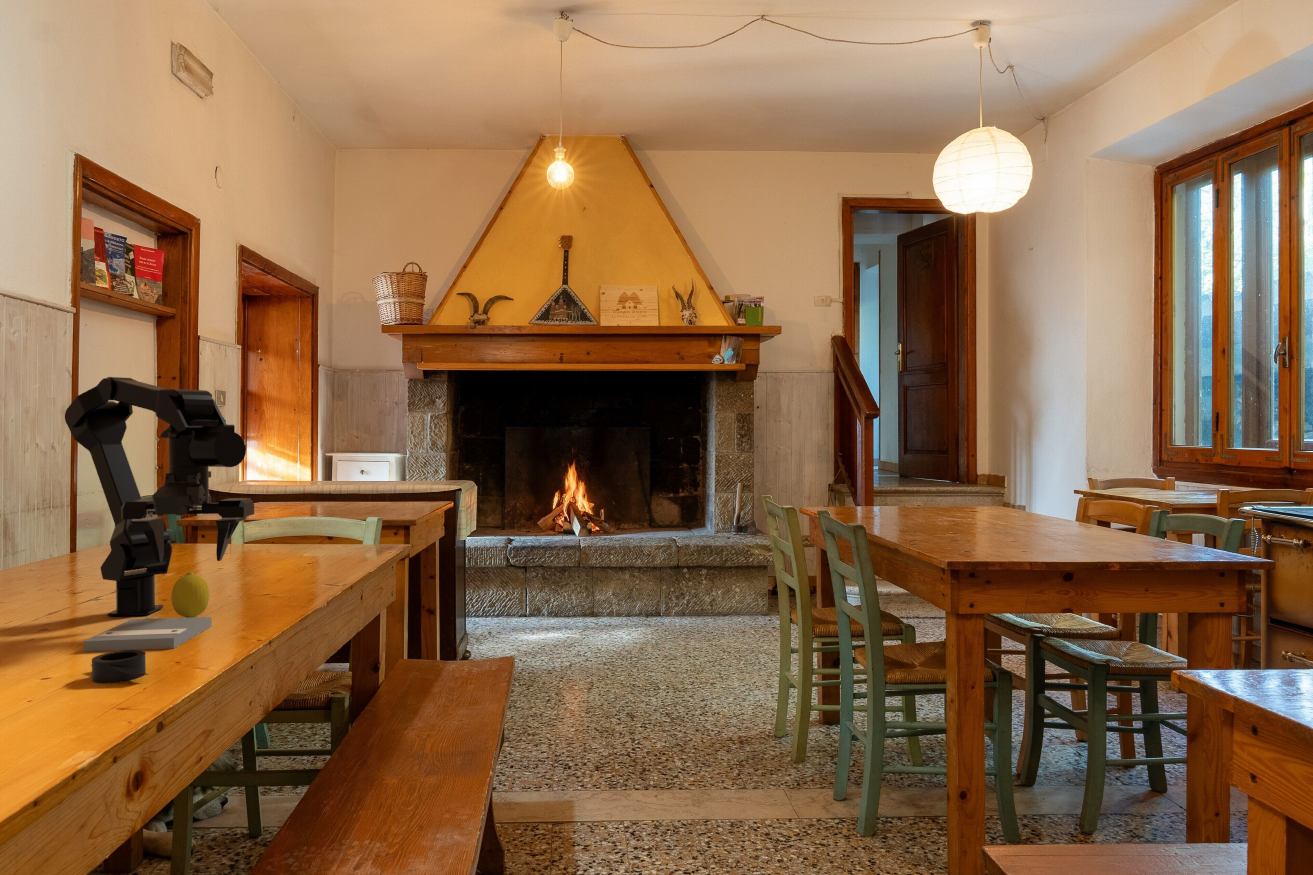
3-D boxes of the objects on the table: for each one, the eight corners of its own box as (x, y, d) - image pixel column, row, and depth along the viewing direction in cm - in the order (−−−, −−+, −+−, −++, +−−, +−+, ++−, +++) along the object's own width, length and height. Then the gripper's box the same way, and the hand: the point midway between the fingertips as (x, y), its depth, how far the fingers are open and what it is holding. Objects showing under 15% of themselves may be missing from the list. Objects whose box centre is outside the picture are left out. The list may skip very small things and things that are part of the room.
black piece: (159, 665, 117) (159, 643, 117) (147, 685, 107) (147, 662, 107) (92, 672, 114) (91, 649, 114) (74, 693, 104) (73, 669, 104)
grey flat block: (131, 628, 137) (130, 618, 137) (211, 626, 138) (211, 615, 138) (84, 651, 123) (83, 639, 123) (174, 648, 125) (173, 636, 125)
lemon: (198, 624, 140) (197, 574, 140) (164, 624, 140) (163, 574, 140) (216, 616, 145) (215, 568, 145) (183, 616, 146) (182, 569, 145)
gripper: (102, 469, 133) (103, 570, 134) (231, 468, 136) (232, 568, 136) (136, 465, 144) (137, 559, 145) (254, 464, 147) (255, 557, 147)
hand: (189, 561), depth 143 cm, fingers open, 9 cm apart
